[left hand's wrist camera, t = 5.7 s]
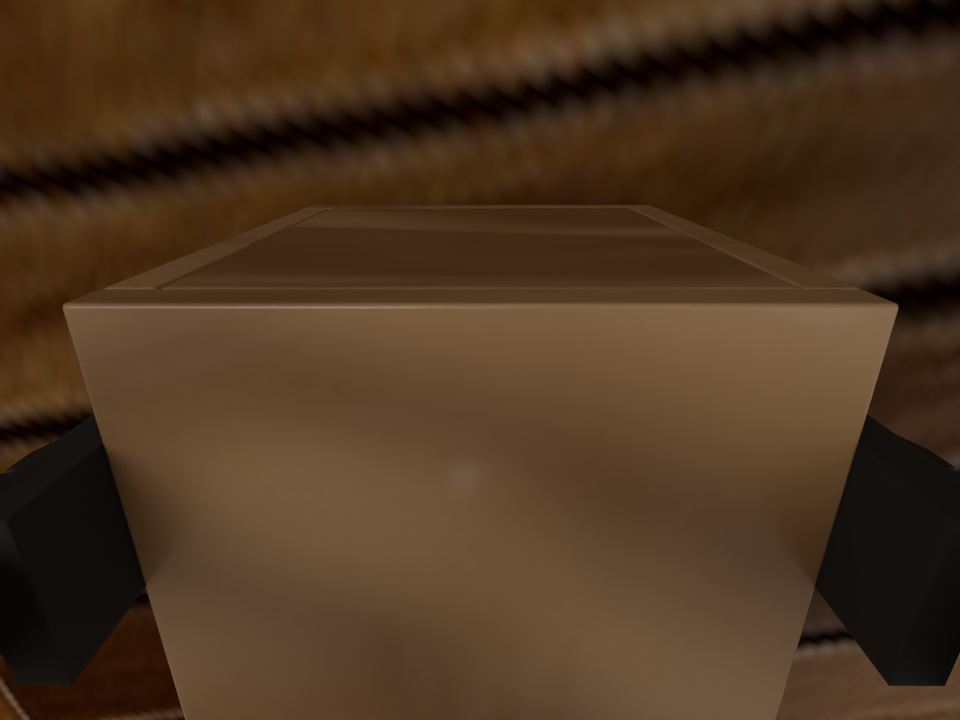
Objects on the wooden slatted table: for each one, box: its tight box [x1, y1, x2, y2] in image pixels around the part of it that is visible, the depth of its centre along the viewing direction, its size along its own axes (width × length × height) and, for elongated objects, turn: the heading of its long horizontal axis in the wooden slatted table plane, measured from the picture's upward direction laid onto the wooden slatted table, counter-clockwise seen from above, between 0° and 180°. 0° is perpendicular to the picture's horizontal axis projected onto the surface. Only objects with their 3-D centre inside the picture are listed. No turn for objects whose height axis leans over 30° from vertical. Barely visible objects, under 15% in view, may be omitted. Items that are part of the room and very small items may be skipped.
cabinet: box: [63, 205, 898, 720], centre depth 16 cm, size 18×11×12 cm, turn 0°
